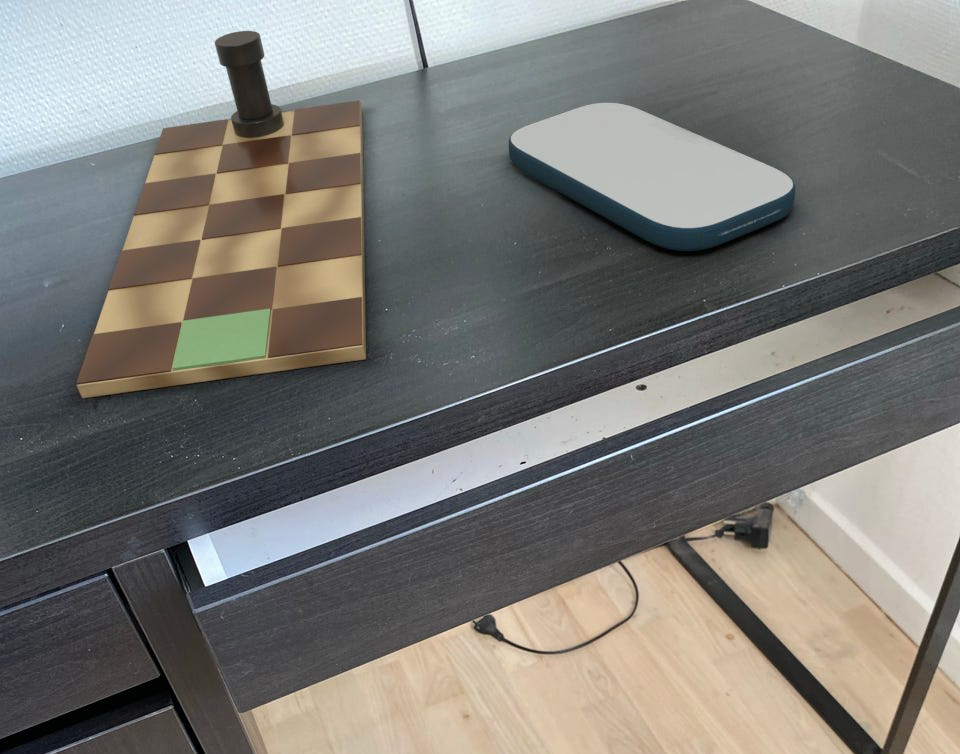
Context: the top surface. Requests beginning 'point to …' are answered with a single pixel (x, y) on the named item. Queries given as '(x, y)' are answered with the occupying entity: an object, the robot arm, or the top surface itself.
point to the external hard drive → (652, 175)
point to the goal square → (222, 339)
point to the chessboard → (240, 251)
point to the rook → (248, 84)
